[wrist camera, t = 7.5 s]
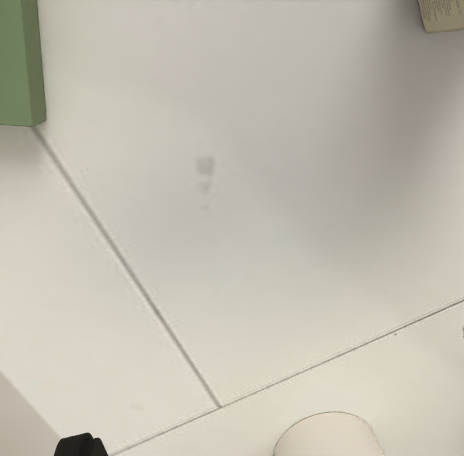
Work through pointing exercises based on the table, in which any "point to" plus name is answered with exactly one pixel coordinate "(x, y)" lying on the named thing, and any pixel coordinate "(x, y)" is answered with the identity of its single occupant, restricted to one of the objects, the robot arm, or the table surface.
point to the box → (442, 15)
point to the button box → (20, 65)
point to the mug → (329, 437)
